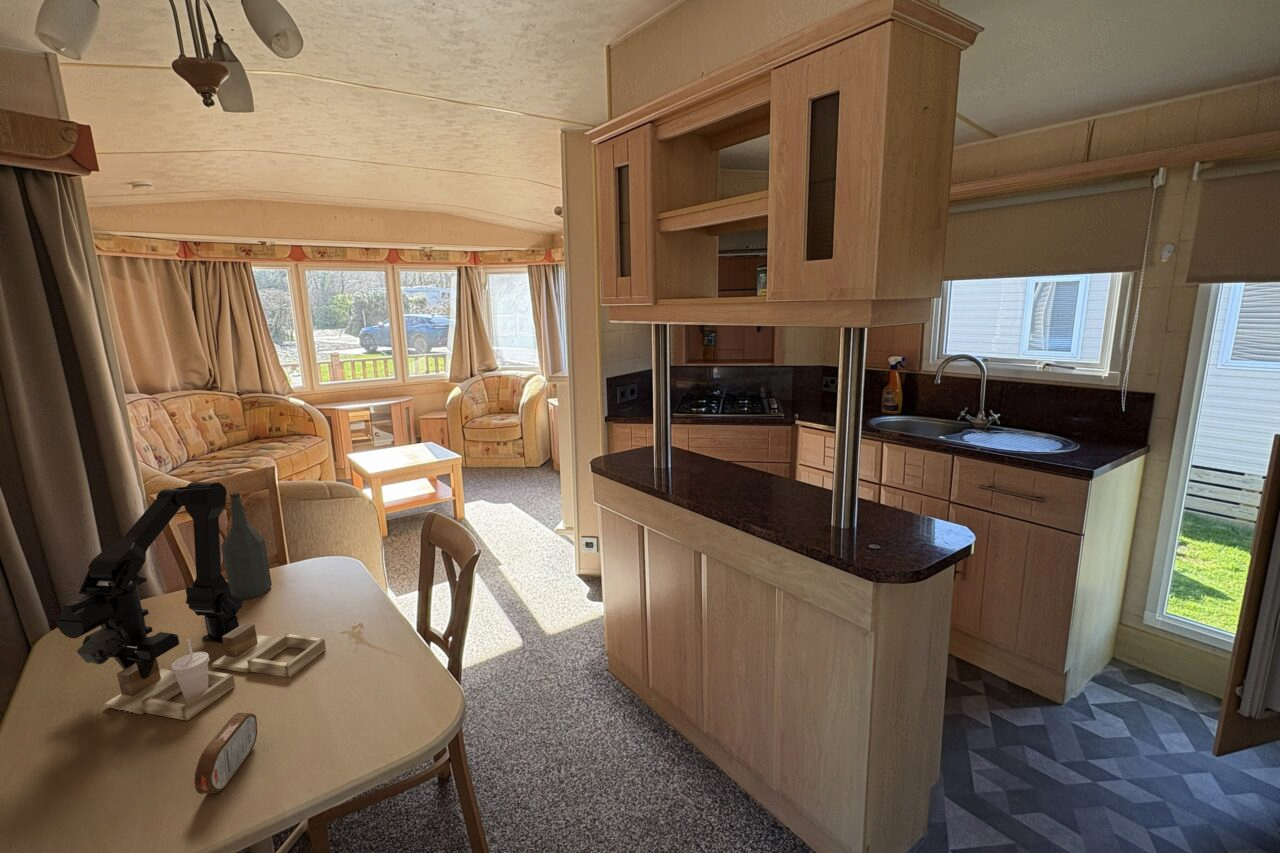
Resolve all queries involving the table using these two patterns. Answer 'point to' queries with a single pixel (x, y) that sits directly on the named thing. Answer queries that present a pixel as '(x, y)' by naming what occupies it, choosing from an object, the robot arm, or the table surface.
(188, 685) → the smoothie
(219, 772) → the tin
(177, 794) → the table surface
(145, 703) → the cream rimmed tray
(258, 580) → the bottle
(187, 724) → the table surface
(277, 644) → the hollow rectangular frame
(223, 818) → the table surface
